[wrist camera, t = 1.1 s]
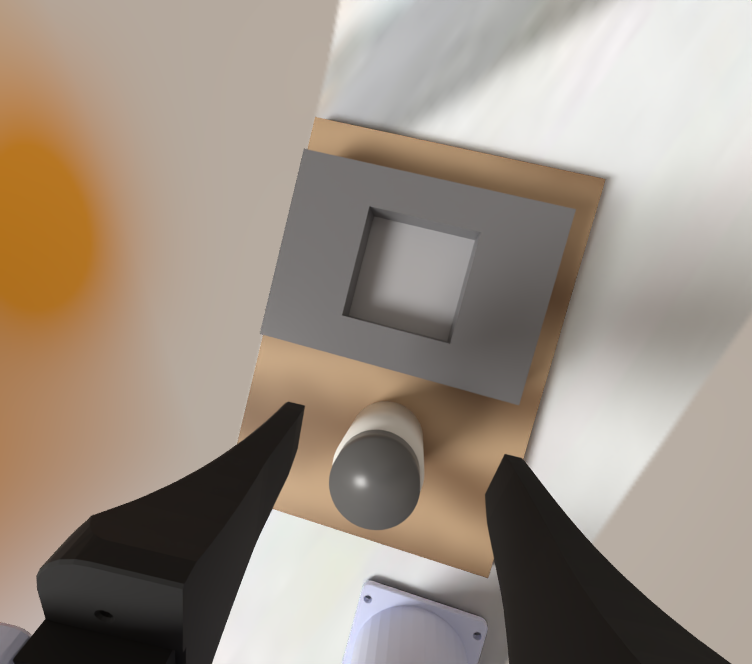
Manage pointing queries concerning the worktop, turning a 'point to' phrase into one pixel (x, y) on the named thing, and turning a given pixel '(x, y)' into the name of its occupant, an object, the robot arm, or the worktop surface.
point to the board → (422, 397)
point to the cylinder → (379, 467)
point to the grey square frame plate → (416, 274)
